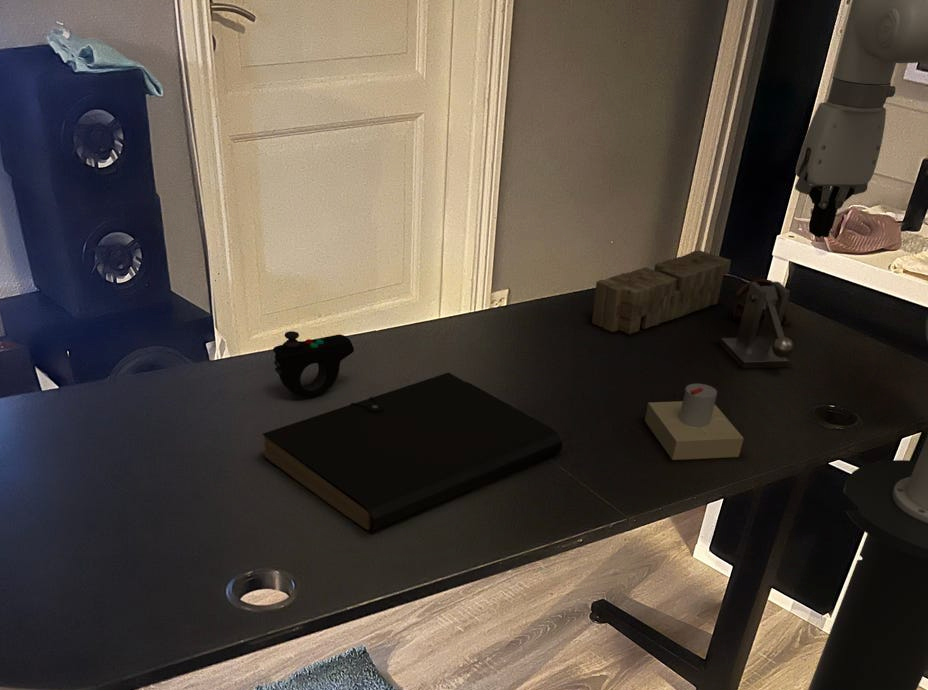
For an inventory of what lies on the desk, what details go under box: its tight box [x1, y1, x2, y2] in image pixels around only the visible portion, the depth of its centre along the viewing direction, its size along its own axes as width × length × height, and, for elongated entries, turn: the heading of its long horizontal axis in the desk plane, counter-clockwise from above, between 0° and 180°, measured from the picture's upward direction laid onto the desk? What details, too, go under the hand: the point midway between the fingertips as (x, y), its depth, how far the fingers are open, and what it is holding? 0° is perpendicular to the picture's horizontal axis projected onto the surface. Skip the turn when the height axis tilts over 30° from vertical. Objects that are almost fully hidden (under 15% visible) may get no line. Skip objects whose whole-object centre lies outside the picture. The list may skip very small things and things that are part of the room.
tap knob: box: [680, 383, 718, 426], centre depth 138 cm, size 4×4×5 cm
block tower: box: [591, 249, 732, 336], centre depth 177 cm, size 8×8×29 cm
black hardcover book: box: [262, 372, 563, 532], centre depth 132 cm, size 33×4×24 cm
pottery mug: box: [732, 277, 788, 326], centre depth 178 cm, size 12×10×8 cm
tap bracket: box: [719, 281, 791, 369], centre depth 162 cm, size 10×8×12 cm
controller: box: [272, 330, 355, 399], centre depth 144 cm, size 4×12×10 cm, turn 124°
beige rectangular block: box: [644, 400, 745, 461], centre depth 140 cm, size 12×10×3 cm
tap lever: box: [762, 286, 794, 358], centre depth 158 cm, size 13×3×3 cm, turn 10°
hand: (818, 234), depth 144 cm, fingers closed
